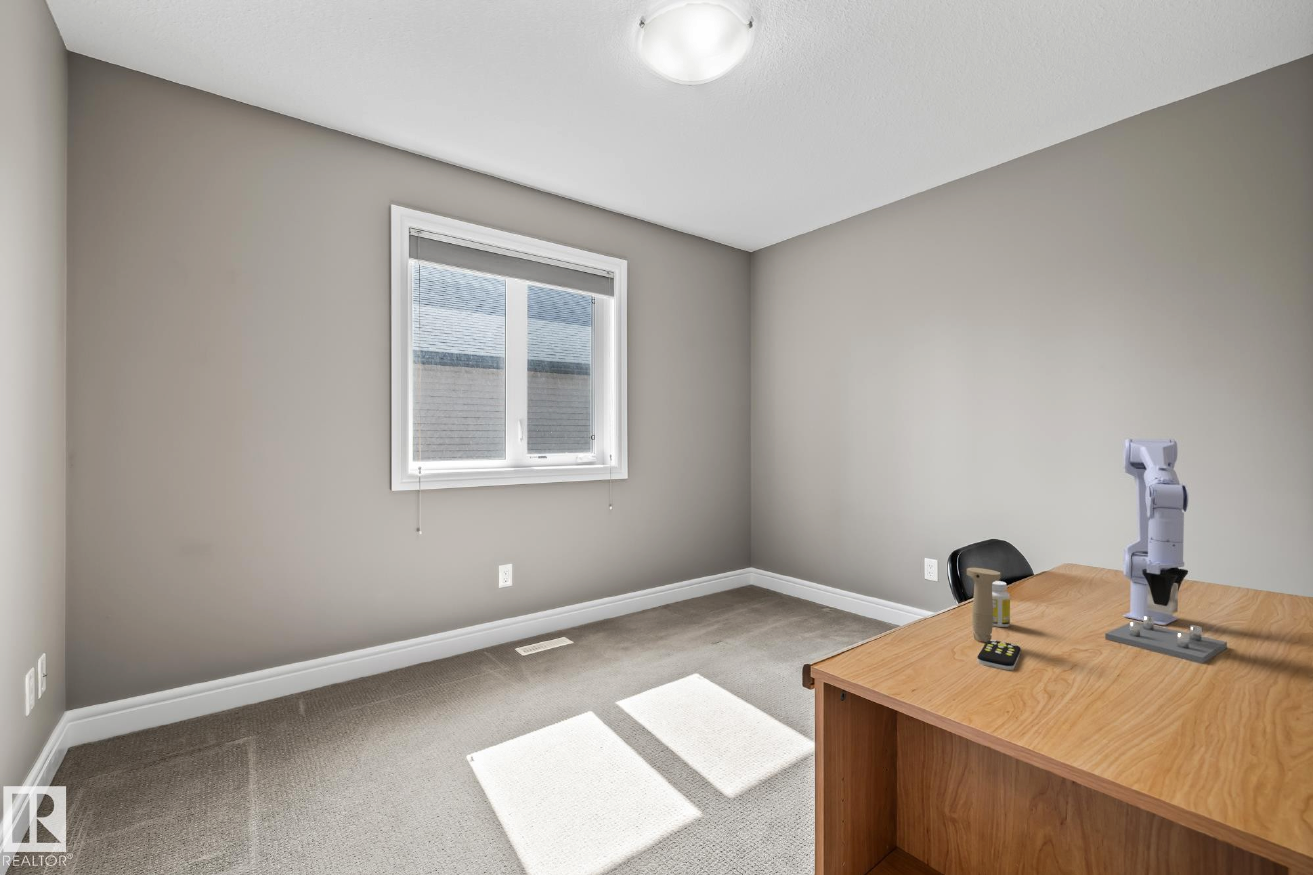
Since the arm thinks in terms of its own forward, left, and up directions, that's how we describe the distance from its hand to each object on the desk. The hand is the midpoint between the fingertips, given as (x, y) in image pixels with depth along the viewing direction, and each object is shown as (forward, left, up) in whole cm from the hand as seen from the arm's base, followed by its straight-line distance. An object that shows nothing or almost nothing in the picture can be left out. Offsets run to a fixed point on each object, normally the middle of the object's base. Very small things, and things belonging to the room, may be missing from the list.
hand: (1164, 603), depth 125 cm
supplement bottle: (+18, -26, -9) cm, 33 cm away
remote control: (+39, -15, -9) cm, 43 cm away
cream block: (0, 0, -2) cm, 2 cm away
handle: (+32, -22, -9) cm, 40 cm away
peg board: (0, 0, -9) cm, 9 cm away
